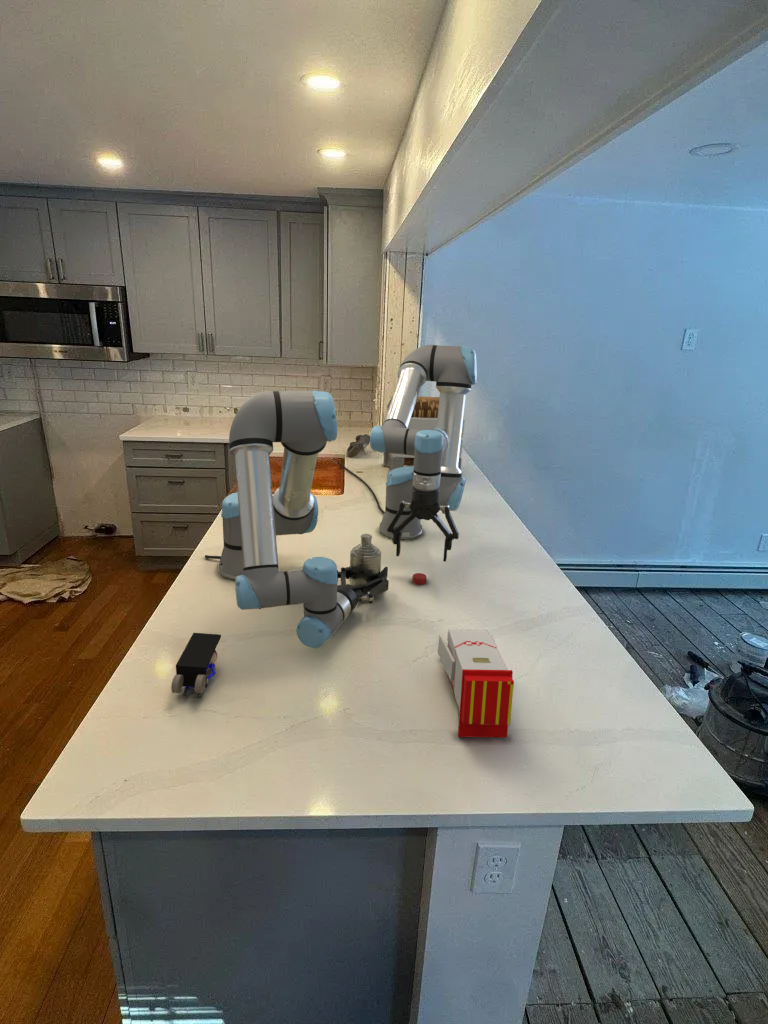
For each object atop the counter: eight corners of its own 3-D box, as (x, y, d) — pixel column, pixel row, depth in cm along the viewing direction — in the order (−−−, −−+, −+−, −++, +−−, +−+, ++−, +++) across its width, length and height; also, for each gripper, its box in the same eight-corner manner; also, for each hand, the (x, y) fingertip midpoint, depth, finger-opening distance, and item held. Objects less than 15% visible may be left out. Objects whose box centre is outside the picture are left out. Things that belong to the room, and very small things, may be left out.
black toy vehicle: (206, 709, 112) (224, 658, 125) (202, 680, 108) (221, 630, 122) (172, 708, 112) (194, 657, 125) (167, 679, 108) (190, 629, 122)
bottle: (352, 603, 152) (353, 542, 146) (347, 589, 159) (348, 530, 153) (382, 601, 154) (385, 540, 148) (375, 587, 161) (378, 529, 155)
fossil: (346, 440, 316) (367, 425, 311) (357, 453, 319) (378, 438, 314) (340, 453, 296) (362, 438, 291) (351, 468, 299) (374, 452, 294)
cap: (421, 586, 163) (422, 580, 162) (409, 582, 165) (410, 576, 164) (428, 581, 166) (429, 575, 165) (416, 577, 168) (417, 571, 167)
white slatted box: (382, 463, 289) (386, 382, 275) (445, 464, 293) (451, 384, 279) (390, 482, 257) (394, 392, 243) (460, 483, 261) (468, 394, 247)
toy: (488, 613, 130) (523, 677, 101) (484, 667, 133) (517, 744, 104) (435, 612, 130) (455, 676, 101) (432, 666, 133) (451, 743, 103)
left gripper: (299, 609, 143) (336, 573, 163) (377, 627, 136) (406, 587, 157) (299, 582, 140) (336, 549, 161) (378, 599, 134) (407, 562, 154)
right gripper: (378, 487, 154) (376, 557, 162) (471, 496, 150) (464, 567, 158) (383, 479, 161) (381, 546, 169) (472, 487, 157) (465, 556, 165)
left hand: (371, 568), depth 159 cm, fingers closed on bottle, 8 cm apart
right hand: (421, 557), depth 163 cm, fingers open, 13 cm apart
